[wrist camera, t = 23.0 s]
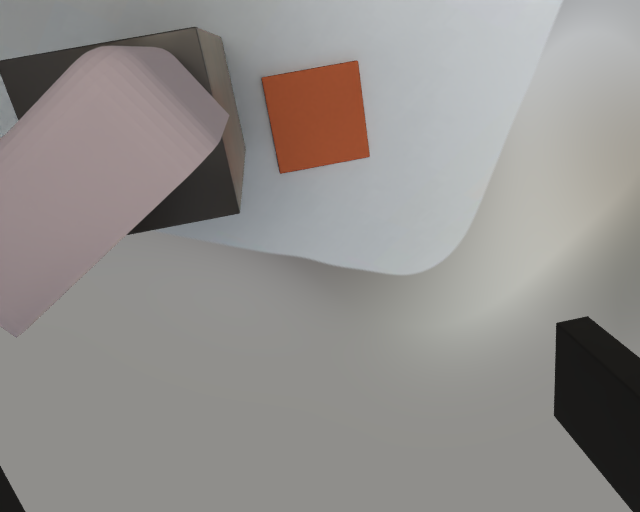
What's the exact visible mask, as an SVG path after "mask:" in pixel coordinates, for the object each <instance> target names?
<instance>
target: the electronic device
mask: <svg viewBox="0 0 640 512" xmlns="http://www.w3.org/2000/svg"><path fill="white" fill-rule="evenodd" d="M228 118H229V114H228V113H227V112H226V111H225V110H224V109H223V108H222V107H221V106H220V105H219V104H218V102H217V101H216V100H215V99H214V98H213V97H212V96H211V95H210V94H209V93H208V92H207V91H206V90H205V89H204V87H203V86H202V85H201V84H200V83H199V82H198V81H197V80H196V79H195V78H194V77H193V76H192V75H191V74H190V72H189V71H188V70H187V69H186V68H185V67H184V66H183V65H182V64H181V63H180V62H179V61H178V60H177V59H176V57H174V56H173V55H172V54H171V53H170V52H168V51H166V50H164V49H162V48H157V47H139V46H101V47H98V48H95V49H93V50H90V51H88V52H86V53H85V54H83V55H82V56H81V57H79V58H78V59H77V60H76V61H75V62H74V63H73V64H72V65H71V66H70V67H69V68H68V69H67V70H66V71H65V72H64V73H63V74H62V75H61V77H60V78H59V79H58V80H57V81H56V82H55V83H54V84H53V85H52V86H51V87H50V88H49V89H48V90H47V91H46V92H45V93H44V94H43V96H42V97H41V98H40V99H39V100H38V101H37V102H36V103H35V104H34V105H33V106H32V107H31V108H30V109H29V110H28V111H27V112H26V113H25V115H24V116H23V117H22V118H21V119H20V120H19V121H18V122H17V123H16V124H15V125H14V126H13V127H12V128H11V129H10V130H9V131H8V132H7V134H5V135H4V136H3V137H2V138H0V326H1V327H2V328H3V329H5V330H6V331H8V332H9V333H10V334H12V335H13V336H15V337H18V336H19V335H21V334H22V333H23V332H24V331H25V330H26V329H27V328H29V327H30V326H31V325H32V324H33V323H34V322H35V321H36V320H37V319H38V318H39V317H40V316H41V315H42V314H43V313H44V312H46V311H47V310H48V309H49V308H50V307H51V306H52V305H53V304H54V303H55V302H56V301H57V300H58V299H59V298H60V297H61V296H62V295H63V294H64V293H66V291H68V290H69V289H70V288H71V287H72V286H73V285H74V284H75V283H76V282H77V281H78V280H79V279H80V278H81V277H82V276H83V275H84V274H86V273H87V272H88V271H89V270H90V269H91V268H92V267H93V266H94V265H95V264H96V263H97V262H98V261H99V260H100V259H101V258H102V257H103V256H105V255H106V254H107V253H108V252H109V251H110V250H111V249H112V248H113V247H114V246H115V245H116V244H117V243H118V242H119V241H120V240H121V239H123V237H125V236H126V235H127V234H128V233H129V232H130V231H131V230H132V229H133V228H134V227H135V226H136V225H137V224H138V223H139V222H140V221H142V220H143V219H144V218H145V217H146V216H147V215H148V214H149V213H150V212H151V211H152V210H153V209H154V208H155V207H156V206H157V205H158V204H159V203H161V202H162V201H163V200H164V199H165V198H166V197H167V196H168V195H169V194H170V193H171V192H172V191H173V190H174V189H175V188H176V187H177V186H178V185H180V184H181V183H182V182H183V181H184V180H185V179H186V178H187V177H188V176H189V175H190V174H191V173H192V172H193V171H194V170H195V169H196V168H197V167H198V166H199V165H200V164H201V163H202V162H203V161H204V160H205V159H206V157H207V156H208V155H209V154H210V153H211V152H212V151H213V150H214V148H215V147H216V146H217V145H218V143H219V142H220V140H221V137H222V134H223V132H224V129H225V126H226V124H227V121H228Z"/></svg>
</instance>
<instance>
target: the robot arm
mask: <svg viewBox="0 0 640 512" xmlns="http://www.w3.org/2000/svg"><path fill="white" fill-rule="evenodd" d="M554 416H555V417H556V419H557V420H558V421H559V422H560V423H561V425H562V426H563V427H564V428H565V430H566V431H567V432H568V433H569V435H570V436H571V437H572V438H573V439H574V441H575V442H576V443H577V444H578V445H579V447H580V448H581V449H582V450H583V452H584V453H585V454H586V455H587V456H588V458H589V459H590V460H591V461H592V463H593V464H594V465H595V466H596V467H597V469H598V470H599V471H600V472H601V473H602V475H603V476H604V477H605V478H606V479H607V481H608V482H609V483H610V484H611V486H612V487H613V488H614V489H615V491H616V492H617V493H618V494H619V495H620V496H621V498H622V499H623V500H624V501H625V503H626V504H627V505H628V506H629V508H630V509H631V510H632V511H633V512H640V358H639V357H638V356H637V355H635V354H634V353H633V352H631V351H630V350H629V349H628V348H627V347H625V346H624V345H623V344H621V343H620V342H619V341H618V340H617V339H615V338H614V337H613V336H611V335H610V334H609V333H608V332H607V331H605V330H604V329H603V328H602V327H600V326H599V325H598V324H596V323H595V322H594V321H593V320H592V319H590V318H589V317H588V316H587V317H583V318H578V319H573V320H568V321H564V322H559V323H556V359H555V396H554ZM0 512H25V510H24V509H23V507H22V505H21V503H20V502H19V499H18V498H17V496H16V494H15V492H14V490H13V489H12V487H11V485H10V483H9V481H8V479H7V477H6V476H5V474H4V472H3V470H2V468H1V466H0Z"/></svg>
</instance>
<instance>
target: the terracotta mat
mask: <svg viewBox="0 0 640 512" xmlns="http://www.w3.org/2000/svg"><path fill="white" fill-rule="evenodd" d="M262 83H263V88H264V93H265V99H266V104H267V109H268V114H269V119H270V124H271V129H272V134H273V139H274V144H275V149H276V154H277V160H278V165H279V170H280V173H287V172H292V171H297V170H302V169H308V168H313V167H318V166H324V165H329V164H334V163H339V162H345V161H350V160H355V159H361V158H366V157H369V156H370V155H369V147H368V139H367V131H366V123H365V114H364V106H363V98H362V90H361V82H360V74H359V66H358V61H351V62H346V63H340V64H334V65H329V66H323V67H318V68H312V69H307V70H301V71H295V72H290V73H284V74H279V75H273V76H268V77H262Z"/></svg>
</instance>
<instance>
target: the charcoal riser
mask: <svg viewBox="0 0 640 512" xmlns="http://www.w3.org/2000/svg"><path fill="white" fill-rule="evenodd" d="M101 46H139V47H157V48H162V49H164V50H166V51H168V52H170V53H171V54H172V55H173V56H174V57H176V59H177V60H178V61H179V62H180V63H181V64H182V65H183V66H184V67H185V68H186V69H187V70H188V71H189V72H190V74H191V75H192V76H193V77H194V78H195V79H196V80H197V81H198V82H199V83H200V84H201V85H202V86H203V87H204V89H205V90H206V91H207V92H208V93H209V94H210V95H211V96H212V97H213V98H214V99H215V100H216V101H217V102H218V104H219V105H220V106H221V107H222V108H223V109H224V110H225V111H226V112H227V113H228V114H229V118H228V121H227V124H226V126H225V129H224V132H223V134H222V137H221V140H220V142H219V143H218V145H217V146H216V147H215V148H214V150H213V151H212V152H211V153H210V154H209V155H208V156H207V157H206V159H205V160H204V161H203V162H202V163H201V164H200V165H199V166H198V167H197V168H196V169H195V170H194V171H193V172H192V173H191V174H190V175H189V176H188V177H187V178H186V179H185V180H184V181H183V182H182V183H181V184H180V185H178V186H177V187H176V188H175V189H174V190H173V191H172V192H171V193H170V194H169V195H168V196H167V197H166V198H165V199H164V200H163V201H162V202H161V203H159V204H158V205H157V206H156V207H155V208H154V209H153V210H152V211H151V212H150V213H149V214H148V215H147V216H146V217H145V218H144V219H143V220H142V221H140V222H139V223H138V224H137V225H136V226H135V227H134V228H133V229H132V230H131V231H130V232H129V233H128V234H127V235H130V234H134V233H140V232H145V231H150V230H156V229H161V228H166V227H171V226H176V225H182V224H187V223H192V222H197V221H202V220H208V219H213V218H218V217H223V216H228V215H234V214H239V213H240V208H241V196H242V185H243V174H244V163H245V151H246V148H245V143H244V139H243V134H242V130H241V125H240V121H239V116H238V112H237V107H236V103H235V98H234V93H233V89H232V84H231V80H230V75H229V71H228V66H227V62H226V57H225V53H224V48H223V43H222V39H221V37H219V36H217V35H214V34H212V33H209V32H207V31H205V30H202V29H200V28H197V27H191V28H185V29H179V30H174V31H168V32H162V33H156V34H151V35H145V36H139V37H133V38H127V39H122V40H116V41H110V42H104V43H99V44H93V45H87V46H81V47H76V48H70V49H64V50H58V51H53V52H47V53H41V54H35V55H29V56H24V57H18V58H12V59H6V60H1V61H0V74H1V77H2V79H3V82H4V84H5V87H6V90H7V92H8V95H9V97H10V100H11V102H12V105H13V108H14V110H15V113H16V115H17V118H18V120H20V119H21V118H22V117H23V116H24V115H25V113H26V112H27V111H28V110H29V109H30V108H31V107H32V106H33V105H34V104H35V103H36V102H37V101H38V100H39V99H40V98H41V97H42V96H43V94H44V93H45V92H46V91H47V90H48V89H49V88H50V87H51V86H52V85H53V84H54V83H55V82H56V81H57V80H58V79H59V78H60V77H61V75H62V74H63V73H64V72H65V71H66V70H67V69H68V68H69V67H70V66H71V65H72V64H73V63H74V62H75V61H76V60H77V59H78V58H79V57H81V56H82V55H83V54H85V53H86V52H88V51H90V50H93V49H95V48H98V47H101Z"/></svg>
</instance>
